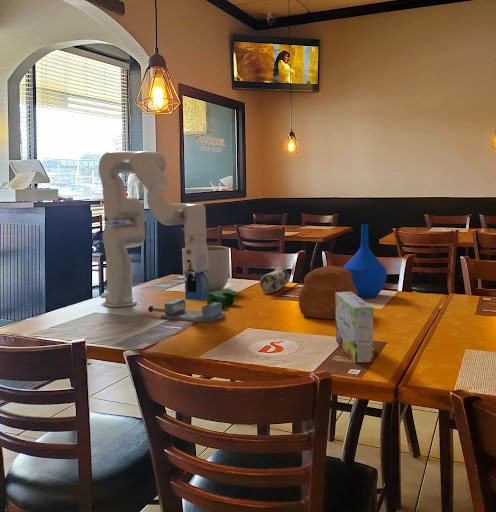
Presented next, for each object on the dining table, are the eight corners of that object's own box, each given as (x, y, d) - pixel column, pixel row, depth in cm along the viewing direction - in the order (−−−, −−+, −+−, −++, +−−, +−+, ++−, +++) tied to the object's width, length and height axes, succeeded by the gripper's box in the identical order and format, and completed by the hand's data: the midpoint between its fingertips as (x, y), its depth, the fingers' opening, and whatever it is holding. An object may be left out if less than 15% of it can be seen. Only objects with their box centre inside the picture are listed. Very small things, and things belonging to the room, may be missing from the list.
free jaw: (147, 313, 201) (146, 302, 201) (161, 308, 210) (161, 297, 209) (172, 315, 197) (172, 304, 196) (186, 310, 206) (185, 299, 205)
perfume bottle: (192, 296, 202) (191, 263, 200) (208, 297, 200) (207, 263, 198) (185, 299, 196) (184, 265, 195) (201, 300, 194) (200, 266, 193)
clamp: (219, 319, 215) (216, 300, 210) (208, 313, 219) (205, 294, 214) (240, 303, 222) (238, 284, 217) (229, 297, 226) (227, 279, 221)
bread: (295, 317, 198) (295, 270, 196) (315, 305, 217) (315, 262, 215) (343, 322, 190) (343, 273, 188) (360, 309, 209) (360, 264, 207)
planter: (228, 294, 241) (227, 250, 238) (180, 295, 241) (179, 251, 239) (230, 286, 261) (230, 245, 259) (186, 286, 262) (185, 246, 259)
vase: (392, 294, 238) (393, 223, 234) (377, 301, 222) (378, 226, 219) (351, 290, 248) (352, 222, 244) (334, 297, 232) (335, 225, 229)
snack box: (333, 341, 166) (334, 291, 164) (352, 341, 166) (353, 291, 165) (353, 364, 145) (354, 306, 143) (374, 363, 146) (375, 306, 144)
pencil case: (272, 285, 263) (272, 264, 261) (290, 286, 260) (290, 265, 259) (259, 294, 242) (258, 271, 241) (278, 295, 239) (278, 272, 238)
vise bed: (161, 318, 198) (160, 304, 198) (177, 311, 208) (176, 298, 208) (211, 322, 190) (211, 308, 190) (225, 316, 200) (225, 302, 200)
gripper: (192, 241, 186) (194, 295, 188) (216, 237, 202) (217, 286, 204) (173, 241, 189) (174, 293, 191) (197, 237, 205) (199, 285, 207)
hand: (196, 289), depth 198 cm, fingers closed on perfume bottle, 6 cm apart
